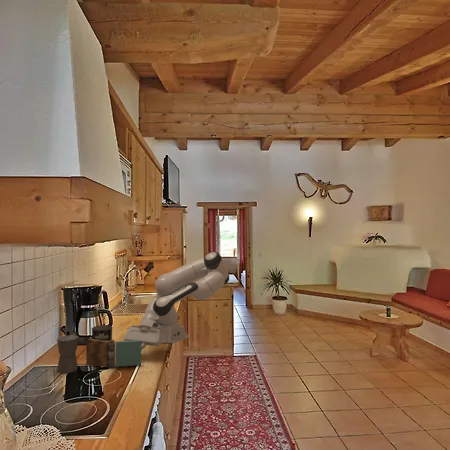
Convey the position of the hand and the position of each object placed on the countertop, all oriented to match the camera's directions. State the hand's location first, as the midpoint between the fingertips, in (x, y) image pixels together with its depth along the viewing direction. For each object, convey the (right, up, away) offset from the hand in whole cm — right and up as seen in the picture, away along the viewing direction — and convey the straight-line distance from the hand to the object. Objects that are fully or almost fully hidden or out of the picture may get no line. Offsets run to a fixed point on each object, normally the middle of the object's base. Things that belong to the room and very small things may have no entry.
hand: (137, 351), depth 180 cm
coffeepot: (-30, -5, -10) cm, 32 cm away
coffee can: (-22, -5, +10) cm, 24 cm away
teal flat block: (-5, -5, -6) cm, 9 cm away
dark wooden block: (-17, -5, -5) cm, 18 cm away
